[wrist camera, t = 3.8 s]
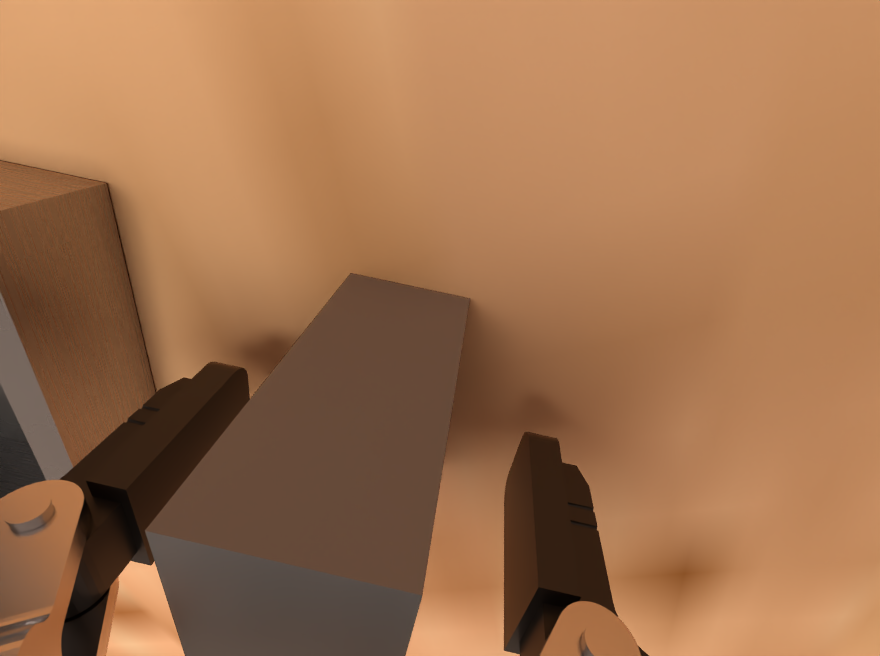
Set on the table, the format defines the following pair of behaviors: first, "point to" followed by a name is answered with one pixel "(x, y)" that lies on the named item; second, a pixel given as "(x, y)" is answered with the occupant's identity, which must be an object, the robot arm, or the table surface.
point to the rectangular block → (321, 487)
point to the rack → (62, 325)
